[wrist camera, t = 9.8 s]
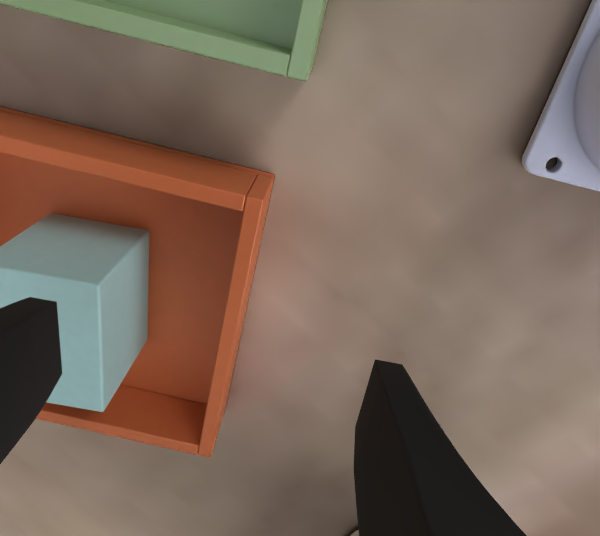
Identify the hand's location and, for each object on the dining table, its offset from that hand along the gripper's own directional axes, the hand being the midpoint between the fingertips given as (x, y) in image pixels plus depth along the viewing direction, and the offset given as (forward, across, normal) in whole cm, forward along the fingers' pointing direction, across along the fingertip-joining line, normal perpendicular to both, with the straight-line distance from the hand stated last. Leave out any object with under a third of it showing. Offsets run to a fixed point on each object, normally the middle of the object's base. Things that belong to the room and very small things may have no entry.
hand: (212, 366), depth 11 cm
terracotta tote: (+9, +6, +4) cm, 12 cm away
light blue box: (+9, +6, +4) cm, 12 cm away
